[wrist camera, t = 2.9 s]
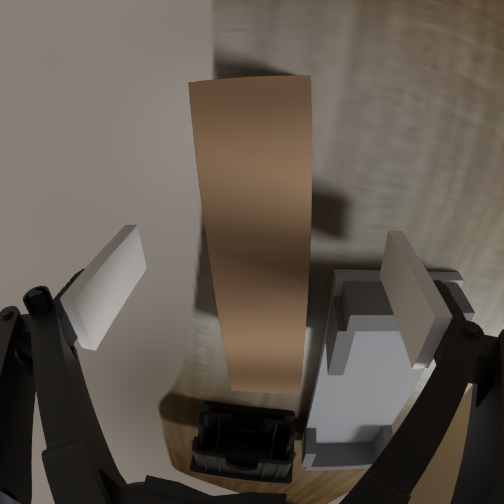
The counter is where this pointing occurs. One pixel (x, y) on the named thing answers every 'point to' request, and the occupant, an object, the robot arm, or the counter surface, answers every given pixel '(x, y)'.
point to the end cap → (244, 443)
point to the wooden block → (257, 220)
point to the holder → (361, 372)
